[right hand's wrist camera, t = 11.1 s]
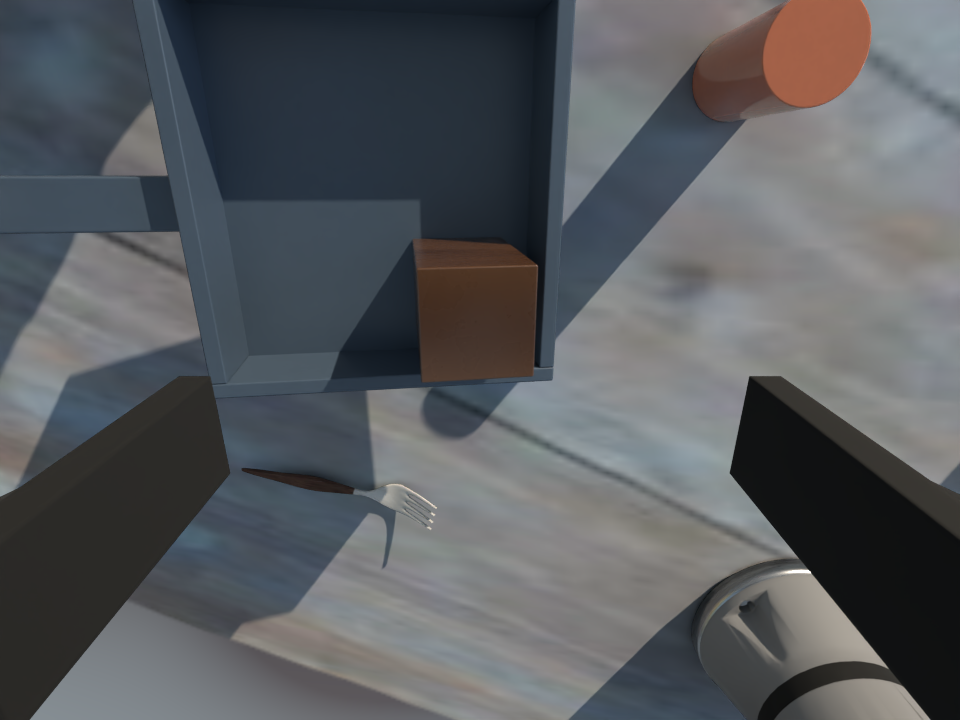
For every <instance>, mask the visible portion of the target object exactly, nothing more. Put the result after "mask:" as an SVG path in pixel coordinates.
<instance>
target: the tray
mask: <svg viewBox="0 0 960 720" xmlns="http://www.w3.org/2000/svg"><path fill="white" fill-rule="evenodd" d="M132 1H133V6H134V11H135V16H136V21H137V26H138V31H139V36H140V41H141V46H142V50H143V55H144V60H145V65H146V70H147V75H148V80H149V85H150V90H151V95H152V99H153V104H154V109H155V114H156V119H157V124H158V129H159V134H160V139H161V144H162V149H163V153H164V158H165V163H166V168H167V173H168V176H0V234H22V233H101V232H180V237H181V242H182V247H183V252H184V256H185V261H186V266H187V271H188V276H189V281H190V286H191V291H192V296H193V301H194V306H195V310H196V315H197V320H198V325H199V330H200V335H201V340H202V345H203V350H204V355H205V360H206V364H207V369H208V374H209V376H211V381H212V386H213V391H214V396H215V399H216V398H234V397H253V396H271V395H290V394H308V393H327V392H345V391H364V390H382V389H401V388H419V387H438V386H456V385H475V384H493V383H512V382H530V381H549V380H552V379H553V366H554V350H555V333H556V317H557V300H558V284H559V267H560V251H561V234H562V218H563V201H564V185H565V168H566V152H567V135H568V119H569V102H570V86H571V69H572V53H573V36H574V20H575V3H576V0H132ZM481 237H501V238H502V239H504V240H505V241H506V242H508V243H509V244H510V245H512V246H513V247H514V248H516V249H517V250H518V251H520V252H521V253H522V254H524V255H525V256H526V257H528V258H529V259H530V260H532V261H533V262H534V263H535V264H537V265H538V282H537V306H536V331H535V355H534V375H533V376H532V377H515V378H498V379H480V380H463V381H445V382H428V383H422V382H421V375H420V364H419V352H418V341H417V329H416V313H415V292H414V271H413V250H412V239H431V238H481Z"/></svg>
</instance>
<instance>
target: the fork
mask: <svg viewBox="0 0 960 720" xmlns="http://www.w3.org/2000/svg"><path fill="white" fill-rule="evenodd" d="M242 471H244V472H247V473H250V474H253V475H257V476H260V477H264V478H268V479H271V480H275V481H279V482H282V483H286V484H289V485H293V486H296V487H300V488H304V489H308V490H314V491H322V492H332V493H344V494H355V495H362V496H366V497H369V498H372V499H373V500H375V501H377V502H379V503H381V504H382V505H384V506H386V507H388V508H390V509H392V510H395V511H397V512H400V513H402V514H404V515H406V516H408V517H410V518H412V519H414V520H415V521H417V522H419V523H420V524H422V525H424V526H425V527H427V528H428V529H429V530H431V528H430V527H429V526H427V525H426V524H425V523H423V522H422V521H421V520H419V519H418V518H416V517H415V516H413V515H412V514H410V513H409V512H408V511H406V509H405V508H407V509H409V510H411V511H413V512H415V513H417V514H418V515H420V516H422V517H423V518H425V519H427V520H428V521H430V522H431V523H433V521H432V520H430V519H429V518H428V517H426V516H425V515H424V514H422V513H421V512H419V511H418V510H416V509H415V508H413V507H412V506H410V505H409V504H408V503H407V501H408V502H411V503H413V504H415V505H417V506H418V507H420V508H422V509H423V510H425V511H427V512H428V513H430V514H431V515H433V516H435V514H433V513H432V512H431V511H429V510H428V509H427V508H425V507H424V506H422V505H421V504H419V503H418V502H416V501H415V500H413V499H412V498H411V497H409V494H410V495H412V496H415V497H416V498H418V499H420V500H422V501H424V502H425V503H427V504H429V505H430V506H432V507H433V508H435V509H437V507H435V506H434V505H433V504H431V503H430V502H428V501H427V500H426V499H424V498H423V497H421V496H420V495H418V494H417V493H415V492H413V491H412V490H410V489H408V488H407V487H405V486H403V485H400V484H389V485H385V486H383V487H380V488H377V489H374V490H371V491H363V490H359V489H355V488H352V487H349V486H346V485H343V484H339V483H336V482H333V481H330V480H326V479H323V478H319V477H315V476H309V475H301V474H291V473H281V472H273V471H266V470H259V469H249V468H242Z"/></svg>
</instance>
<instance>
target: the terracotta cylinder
mask: <svg viewBox="0 0 960 720" xmlns="http://www.w3.org/2000/svg"><path fill="white" fill-rule="evenodd" d="M870 43H871V23H870V18H869V15H868V12H867V10H866V8H865V6H864V4H863V3H862V1H861V0H787V1H786V2H784V3H782V4H780V5H778V6H776V7H774V8H773V9H771V10H769V11H767V12H765V13H763V14H761V15H760V16H758V17H756V18H754V19H752V20H750V21H748V22H747V23H745V24H743V25H741V26H739V27H737V28H735V29H734V30H732V31H730V32H728V33H726V34H724V35H722V36H721V37H719V38H717V39H716V40H714V41H713V42H712V43H711V44H710V45H709V46H708V47H707V48H706V49H705V50H704V52H703V53H702V55H701V56H700V58H699V60H698V62H697V64H696V67H695V70H694V74H693V82H692V87H693V95H694V98H695V101H696V103H697V105H698V107H699V108H700V110H701V111H702V112H703V113H704V114H705V115H706V116H708V117H709V118H711V119H713V120H716V121H720V122H732V121H738V120H744V119H749V118H755V117H761V116H766V115H772V114H778V113H783V112H789V111H794V110H800V109H806V108H811V107H816V106H819V105H822V104H825V103H827V102H829V101H831V100H833V99H834V98H836V97H837V96H839V95H840V94H841V93H842V92H844V91H845V90H846V89H847V88H848V87H849V86H850V85H851V83H852V82H853V81H854V80H855V78H856V77H857V76H858V74H859V73H860V71H861V69H862V67H863V65H864V63H865V61H866V58H867V55H868V52H869V48H870Z"/></svg>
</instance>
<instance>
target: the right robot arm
mask: <svg viewBox="0 0 960 720" xmlns="http://www.w3.org/2000/svg"><path fill="white" fill-rule="evenodd" d="M229 474H230V469H229V465H228V460H227V455H226V450H225V445H224V440H223V435H222V430H221V425H220V420H219V415H218V410H217V406H216V401H215V396H214V391H213V386H212V381H211V376H179V377H177V378H176V379H175V380H173V381H172V382H170V383H169V384H167V385H166V386H165V387H163V388H162V389H160V390H159V391H157V392H156V393H155V394H153V395H152V396H150V397H149V398H147V399H146V400H145V401H143V402H142V403H140V404H139V405H137V406H136V407H134V408H133V409H132V410H130V411H129V412H127V413H126V414H124V415H123V416H122V417H120V418H119V419H117V420H116V421H114V422H113V423H112V424H110V425H109V426H107V427H106V428H104V429H103V430H101V431H100V432H99V433H97V434H96V435H94V436H93V437H91V438H90V439H89V440H87V441H86V442H84V443H83V444H81V445H80V446H79V447H77V448H76V449H74V450H73V451H71V452H70V453H69V454H67V455H66V456H64V457H63V458H61V459H60V460H58V461H57V462H56V463H54V464H53V465H51V466H50V467H48V468H47V469H46V470H44V471H43V472H41V473H40V474H38V475H37V476H36V477H34V478H33V479H31V480H30V481H28V482H27V483H26V484H24V485H23V486H21V487H20V488H18V489H16V490H14V491H12V492H9V493H7V494H5V495H3V496H1V497H0V720H30V719H31V717H32V716H33V715H34V714H35V712H36V711H37V710H38V709H39V707H40V706H41V705H42V704H43V703H44V701H45V700H46V699H47V698H48V696H49V695H50V694H51V693H52V692H53V690H54V689H55V688H56V687H57V685H58V684H59V683H60V682H61V680H62V679H63V678H64V677H65V676H66V674H67V673H68V672H69V671H70V669H71V668H72V667H73V666H74V665H75V663H76V662H77V661H78V660H79V658H80V657H81V656H82V655H83V653H84V652H85V651H86V650H87V649H88V647H89V646H90V645H91V644H92V642H93V641H94V640H95V639H96V638H97V636H98V635H99V634H100V633H101V631H102V630H103V629H104V628H105V626H106V625H107V624H108V623H109V622H110V620H111V619H112V618H113V617H114V615H115V614H116V613H117V612H118V610H119V609H120V608H121V607H122V606H123V604H124V603H125V602H126V601H127V599H128V598H129V597H130V596H131V595H132V593H133V592H134V591H135V590H136V588H137V587H138V586H139V585H140V583H141V582H142V581H143V580H144V579H145V577H146V576H147V575H148V574H149V572H150V571H151V570H152V569H153V568H154V566H155V565H156V564H157V563H158V561H159V560H160V559H161V558H162V556H163V555H164V554H165V553H166V552H167V550H168V549H169V548H170V547H171V545H172V544H173V543H174V542H175V541H176V539H177V538H178V537H179V536H180V534H181V533H182V532H183V531H184V529H185V528H186V527H187V526H188V525H189V523H190V522H191V521H192V520H193V518H194V517H195V516H196V515H197V513H198V512H199V511H200V510H201V509H202V507H203V506H204V505H205V504H206V502H207V501H208V500H209V499H210V498H211V496H212V495H213V494H214V493H215V491H216V490H217V489H218V488H219V486H220V485H221V484H222V483H223V482H224V480H225V479H226V478H227V477H228V475H229ZM730 474H731V475H732V477H733V478H734V479H735V480H736V482H737V483H738V484H739V485H740V486H741V488H742V489H743V490H744V491H745V493H746V494H747V495H748V496H749V498H750V499H751V500H752V501H753V502H754V504H755V505H756V506H757V507H758V509H759V510H760V511H761V512H762V513H763V515H764V516H765V517H766V518H767V520H768V521H769V522H770V523H771V525H772V526H773V527H774V528H775V529H776V531H777V532H778V533H779V534H780V536H781V537H782V538H783V539H784V541H785V542H786V543H787V544H788V545H789V547H790V548H791V549H792V550H793V552H794V553H795V554H796V555H797V556H798V558H799V559H782V560H774V561H768V562H764V563H760V564H757V565H754V566H751V567H748V568H746V569H743V570H741V571H739V572H737V573H735V574H733V575H732V576H730V577H728V578H727V579H725V580H724V581H723V582H721V583H720V584H719V585H717V586H716V587H715V588H714V589H713V590H712V591H711V592H710V593H709V594H708V595H707V596H706V598H705V599H704V600H703V602H702V603H701V605H700V606H699V608H698V610H697V612H696V614H695V617H694V620H693V624H692V641H693V645H694V648H695V650H696V653H697V655H698V657H699V659H700V662H701V664H702V666H703V668H704V670H705V672H706V673H707V675H708V676H709V677H710V678H711V679H712V680H713V682H714V683H715V684H716V685H718V686H719V687H720V689H721V690H722V691H723V692H724V693H725V695H726V696H727V697H728V698H729V699H730V701H731V702H732V703H733V704H734V705H735V706H736V708H737V709H738V710H739V711H740V712H741V713H742V714H743V716H744V717H745V718H746V719H747V720H960V494H958V493H955V492H953V491H951V490H949V489H947V488H945V487H943V486H940V485H938V484H936V483H934V482H932V481H930V480H929V479H927V478H926V477H924V476H923V475H922V474H920V473H919V472H917V471H916V470H914V469H913V468H912V467H910V466H909V465H907V464H906V463H904V462H903V461H902V460H900V459H899V458H897V457H896V456H894V455H893V454H891V453H890V452H889V451H887V450H886V449H884V448H883V447H881V446H880V445H879V444H877V443H876V442H874V441H873V440H871V439H870V438H869V437H867V436H866V435H864V434H863V433H861V432H860V431H859V430H857V429H856V428H854V427H853V426H851V425H850V424H848V423H847V422H846V421H844V420H843V419H841V418H840V417H838V416H837V415H836V414H834V413H833V412H831V411H830V410H828V409H827V408H826V407H824V406H823V405H821V404H820V403H818V402H817V401H815V400H814V399H813V398H811V397H810V396H808V395H807V394H805V393H804V392H803V391H801V390H800V389H798V388H797V387H795V386H794V385H793V384H791V383H790V382H788V381H787V380H785V379H784V378H783V377H781V376H749V381H748V386H747V391H746V396H745V401H744V406H743V410H742V415H741V420H740V425H739V430H738V435H737V440H736V445H735V450H734V455H733V460H732V465H731V469H730Z"/></svg>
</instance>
